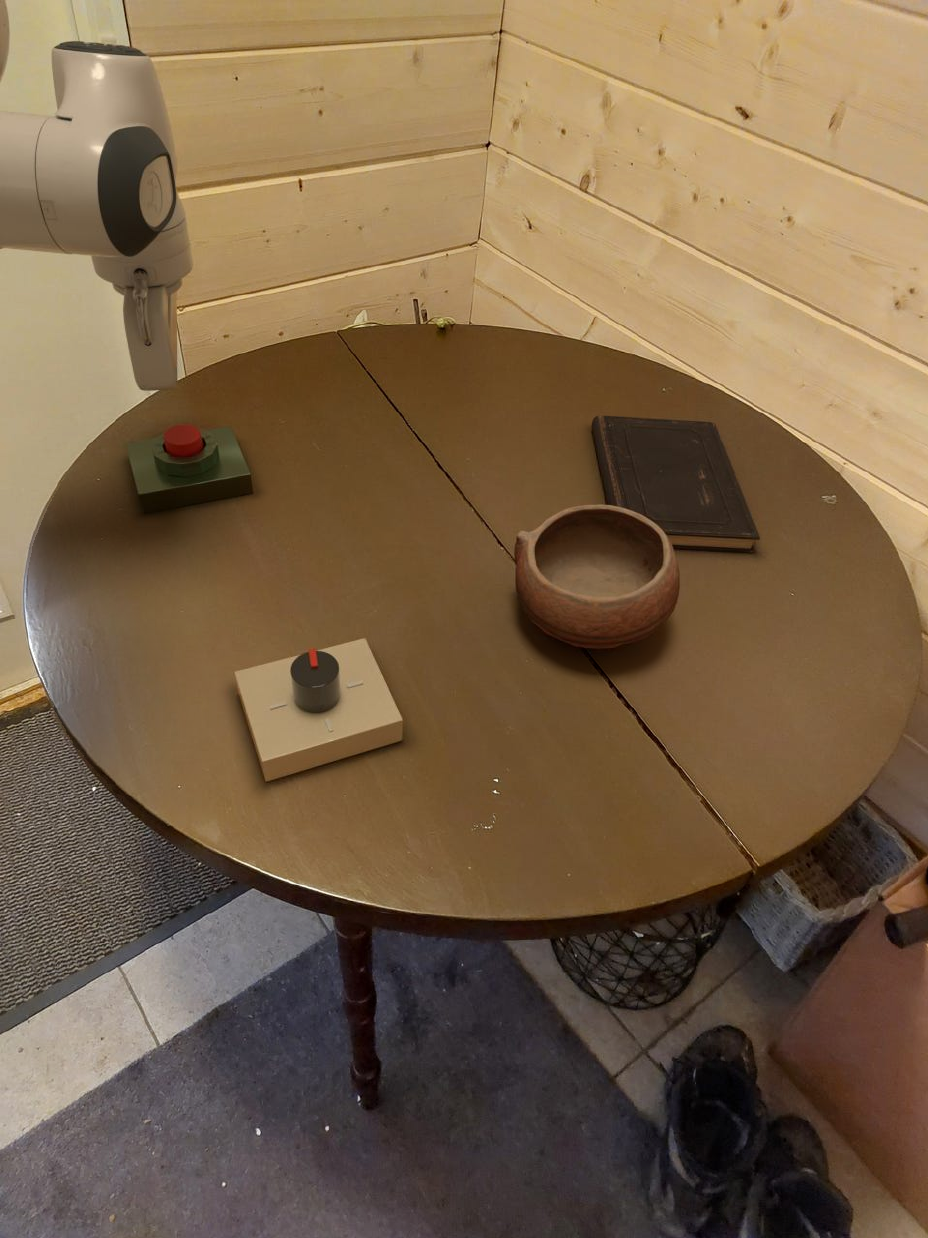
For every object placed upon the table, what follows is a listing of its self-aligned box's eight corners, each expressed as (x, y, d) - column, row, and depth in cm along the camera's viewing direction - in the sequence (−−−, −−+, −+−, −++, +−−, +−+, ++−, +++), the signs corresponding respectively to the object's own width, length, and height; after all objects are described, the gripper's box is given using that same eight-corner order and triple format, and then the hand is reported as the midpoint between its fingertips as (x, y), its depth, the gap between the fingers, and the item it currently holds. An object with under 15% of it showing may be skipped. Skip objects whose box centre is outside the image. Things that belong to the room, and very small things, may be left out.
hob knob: (343, 709, 70) (342, 681, 67) (295, 716, 69) (292, 688, 66) (337, 674, 73) (335, 645, 70) (291, 680, 72) (287, 651, 69)
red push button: (169, 460, 90) (166, 447, 89) (163, 440, 93) (160, 427, 92) (206, 454, 92) (204, 441, 90) (199, 434, 94) (197, 421, 93)
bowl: (489, 576, 87) (499, 500, 80) (623, 553, 91) (644, 480, 84) (544, 688, 77) (560, 613, 70) (691, 657, 81) (721, 584, 74)
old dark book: (710, 436, 109) (715, 421, 107) (753, 553, 93) (760, 537, 91) (590, 429, 108) (593, 414, 106) (613, 545, 92) (617, 530, 90)
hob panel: (265, 782, 68) (261, 760, 66) (238, 693, 74) (233, 670, 72) (402, 740, 72) (403, 718, 70) (365, 659, 78) (365, 636, 76)
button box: (143, 514, 90) (134, 480, 87) (130, 462, 96) (121, 429, 93) (253, 493, 94) (248, 460, 91) (233, 444, 100) (228, 412, 97)
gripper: (176, 298, 70) (201, 437, 80) (176, 207, 84) (197, 335, 94) (97, 300, 69) (132, 441, 79) (110, 207, 82) (138, 337, 92)
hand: (167, 383), depth 86 cm, fingers closed
